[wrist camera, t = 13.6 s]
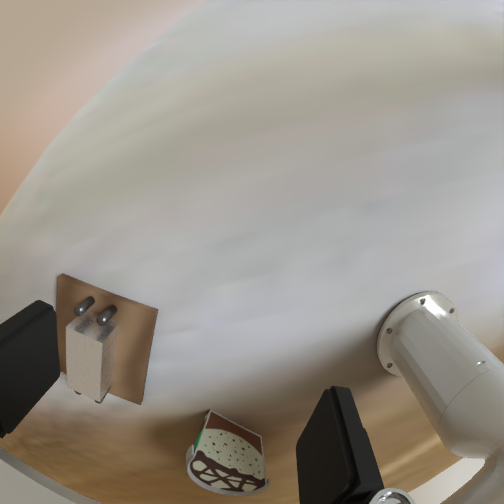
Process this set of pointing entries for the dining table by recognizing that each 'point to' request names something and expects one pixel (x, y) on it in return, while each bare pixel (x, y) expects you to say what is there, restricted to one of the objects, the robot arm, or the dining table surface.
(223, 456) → the food container
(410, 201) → the dining table surface
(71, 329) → the light grey block
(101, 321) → the tray pins
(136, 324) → the tray
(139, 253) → the dining table surface
